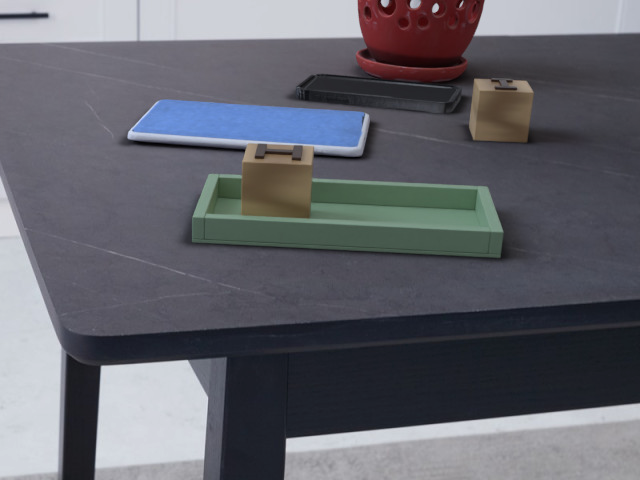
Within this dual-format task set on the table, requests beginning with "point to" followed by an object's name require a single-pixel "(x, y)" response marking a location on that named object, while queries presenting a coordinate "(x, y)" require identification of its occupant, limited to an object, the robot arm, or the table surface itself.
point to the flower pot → (417, 38)
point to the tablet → (252, 126)
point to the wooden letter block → (501, 110)
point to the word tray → (359, 218)
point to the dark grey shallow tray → (379, 93)
